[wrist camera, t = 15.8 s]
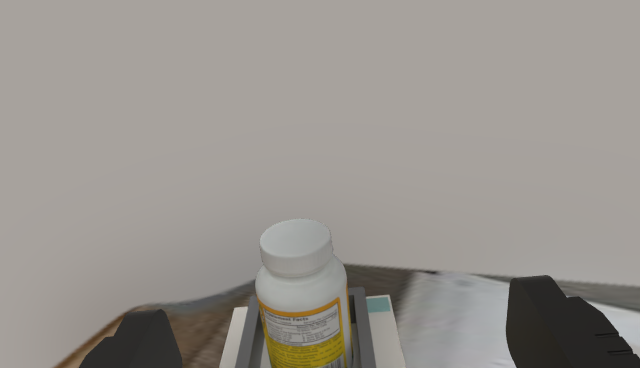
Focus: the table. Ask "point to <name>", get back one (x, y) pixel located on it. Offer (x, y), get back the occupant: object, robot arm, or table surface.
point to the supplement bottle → (303, 297)
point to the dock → (366, 326)
